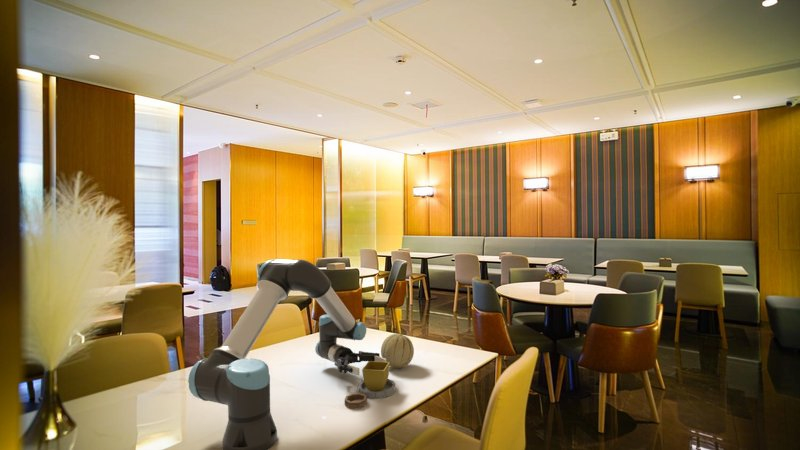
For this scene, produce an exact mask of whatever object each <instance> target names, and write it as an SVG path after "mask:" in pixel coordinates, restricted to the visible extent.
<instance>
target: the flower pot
mask: <svg viewBox="0 0 800 450" xmlns="http://www.w3.org/2000/svg"><path fill="white" fill-rule="evenodd" d="M389 365H390V363H389V362H375V361H367V363H366V364H365V365H364V366H363V367H362V369H361V371H362V378H363V381H364V383H365V385H366V387H367V389H368V390H369V391H382V390H383V388H384V387H385V384H386V382H387V380H388V379H389V374H390V366H389Z"/></svg>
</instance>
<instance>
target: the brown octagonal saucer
mask: <svg viewBox="0 0 800 450" xmlns="http://www.w3.org/2000/svg"><path fill="white" fill-rule="evenodd" d="M367 401H368V398H367V396H366V395H364V394H362V393H359V392H358V393H357V392H354V393H350V394H348V395H346V396H345V398H344V405H345V407H346V408H348V409H351V410H352V409H353V410H356V409H361V408H365V406H366V405H367Z"/></svg>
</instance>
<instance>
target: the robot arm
mask: <svg viewBox="0 0 800 450" xmlns="http://www.w3.org/2000/svg"><path fill="white" fill-rule="evenodd" d="M257 275H258V276H257V288H258V289H257V291H256V292H255V294H254V296H253V297H252V299H251V301H249V304H248V305H247V306H246V308H245V309H244V311H243V312H242V314H241V315H240V317H239V319H238V320H237V321H236V324H235V325H234V326H233V328H232V330H231V331H230V333H229V334H228V336H227V337H226V339H225V340H224V342H223V343H222V345H221V346H219V347H217V348H214V349H213V350H212V351H211V352H210V354H209V356H208V357H207V358H202V359H201V360H198V361H196V363H195V364H194V365H193V366H192V368H191V369H190V370H189V371H190V372H189V375H188V379H187V383H188V389H189V392H190V394H192V395H193V396H194V397H195V398H196V399H200V400H202V401H204V402H205V401H206V402H213V403H217V404H221V405H226V406H227V413H228V415H227V417H228V421H227V424H226V427H225V431H224V434H223V438H222V450H268V449H270V448H272V446H273V445H274V444H275V443H276V442H277V439H278V429H277V426H276V424H275V421H274V419H273V416H272V412H271V375H270V369H269V366H268V363H266V361H263V360H261V359H257V358H247V356H248V355H249V353H250V351H251V349H252V348H253V346H254V344H255V343H256V341H257V339H258V338H259V336H260V335H261V332H262V331H263V329H265V328H264V327H265V326H266V324H267V323H268V320H269V319H270V317H271V316H272V314H273V312H274V311H275V309H276V307H277V306H278V304H279V303H280V301H284V300H286V298H287V297H288V295H289V293H290V292H291V291H293V292H295V291H296V292H297V291H298V292H302V293H305V294H307V295H308V296H309V298H310V299H313V300H315V301H316V302H317V304H318V305H319V306H320V307H321V309H322V310H323V311H324V312H325V313H326V314H322V315H320V316H319V319H318V322H319V323H318V330H319V331H318V333H319V341H318V342H317V343H316V345H315V350H314V351H315V353H316V355H317V356H319V357H320V358H322V359H325V360H328V361H330V362H332V363H334V366H335V367H336V368H337V369H338V373H344V374H345V375H346V374H348V373H350V374H353V375H355V376H357V377H359V376H360V372H361V371H360V368H359V367H357V366H355V365H352V364H355V363H362V362H369V361H375V362H386V359H385V358H382V356H380V355H381V353H378V352H368V351H361V350H360V351H358V352H357V353H356V352H353V351H352V349H351V348H349V347H346V346H344V345H341V344H338V343H337V339H345V340H353V341H362V340H364V338H365V337H366V334H367V326H366V323H364V322H362V321H357V320H356V319H355V317H354V316H353V315H352V313H351V312H350V310H348V308H347V307H346V305H345V303H344V302H343V301H342V299H341V298H340V297H339V296H338V294H337V293H336V292H335V289H333V287H332V282H331V279H329V277H328V276H327V275H326V274H325V273H324V271H322V270H321V269H320V267H318V266H317V265H315V264H314V263H312V262H310V261H308V260H306V259H299V258H298V259H283V258H275V259H269V260H266V261H265V262H264V263H262V265H261V266H260V267H259V269H258V273H257Z"/></svg>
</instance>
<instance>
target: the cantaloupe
mask: <svg viewBox="0 0 800 450" xmlns="http://www.w3.org/2000/svg"><path fill="white" fill-rule="evenodd" d="M414 349H415V348H414V345H413V342H412V340H411V339H410V338H409V337H408V336H406V335H404V334H403V333H402V331H400V332H399V333H393V334H390V335H388V336H387V337H386V338H385V339H384V340H383V341H382V345H381V347H380V355H381V356H380V357H382V358H385V359H386V362H389V363H390V365H389V367H391V368H393V369H402V368H405V367H407V366H408V365H409V364H410V363H411V362H412V360H413V359H414V355H415V353H414V352H415V350H414Z"/></svg>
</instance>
